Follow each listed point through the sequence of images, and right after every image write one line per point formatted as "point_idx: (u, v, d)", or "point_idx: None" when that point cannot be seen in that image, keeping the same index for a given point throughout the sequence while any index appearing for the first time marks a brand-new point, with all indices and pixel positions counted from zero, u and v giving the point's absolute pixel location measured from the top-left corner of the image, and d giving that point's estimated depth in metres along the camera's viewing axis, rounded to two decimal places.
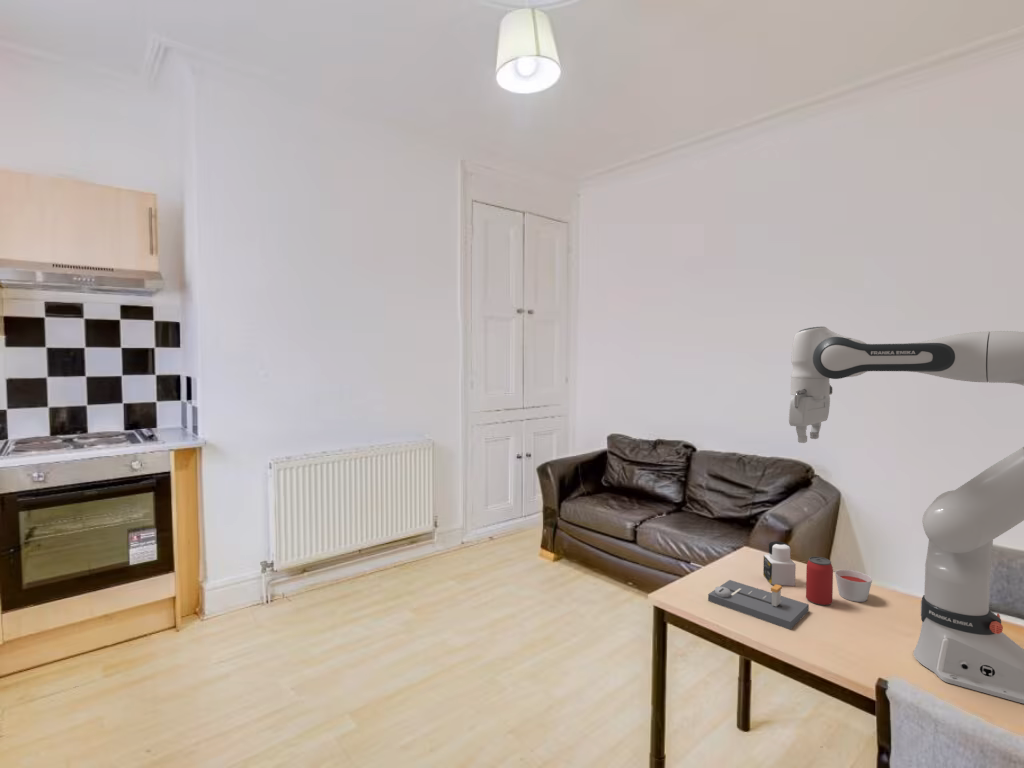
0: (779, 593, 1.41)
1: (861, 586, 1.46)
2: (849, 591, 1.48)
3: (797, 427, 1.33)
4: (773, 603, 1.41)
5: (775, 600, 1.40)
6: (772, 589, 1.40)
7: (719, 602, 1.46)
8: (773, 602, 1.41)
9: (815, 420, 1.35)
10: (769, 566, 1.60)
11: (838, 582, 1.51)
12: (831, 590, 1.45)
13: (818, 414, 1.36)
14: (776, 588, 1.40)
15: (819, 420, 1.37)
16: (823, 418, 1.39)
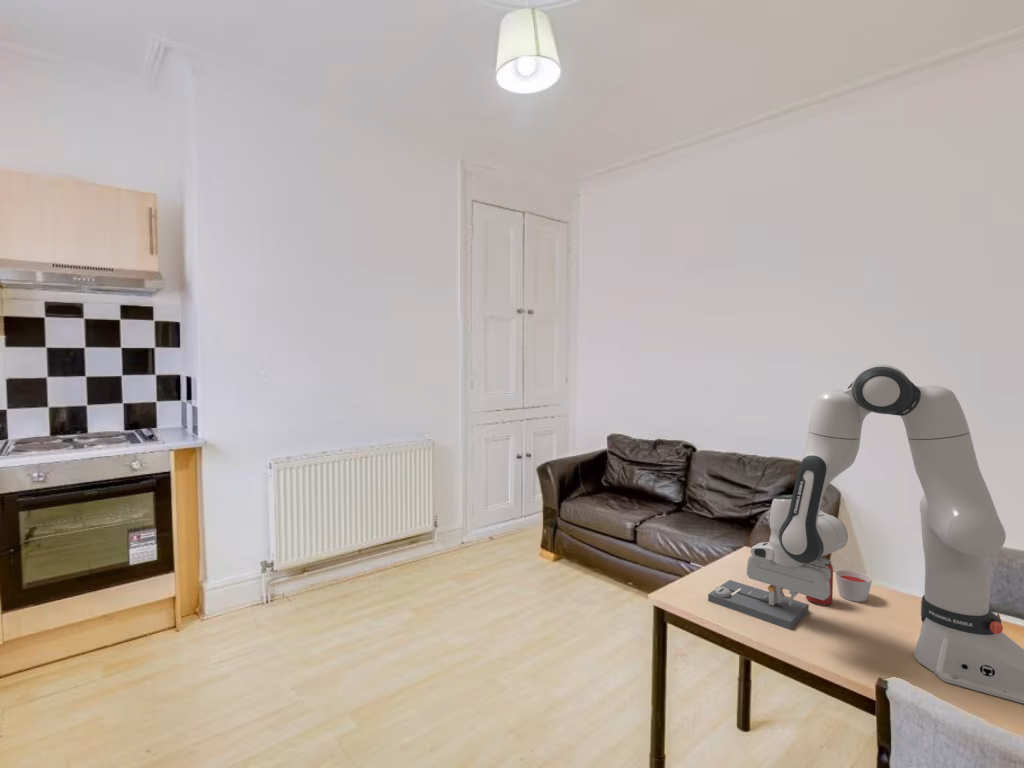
0: (776, 592, 1.42)
1: (861, 586, 1.46)
2: (849, 591, 1.48)
3: (795, 593, 1.37)
4: (770, 602, 1.41)
5: (772, 599, 1.41)
6: (769, 588, 1.41)
7: (719, 602, 1.46)
8: (770, 601, 1.41)
9: None
10: None
11: (838, 582, 1.51)
12: (831, 590, 1.45)
13: None
14: (773, 587, 1.41)
15: None
16: None
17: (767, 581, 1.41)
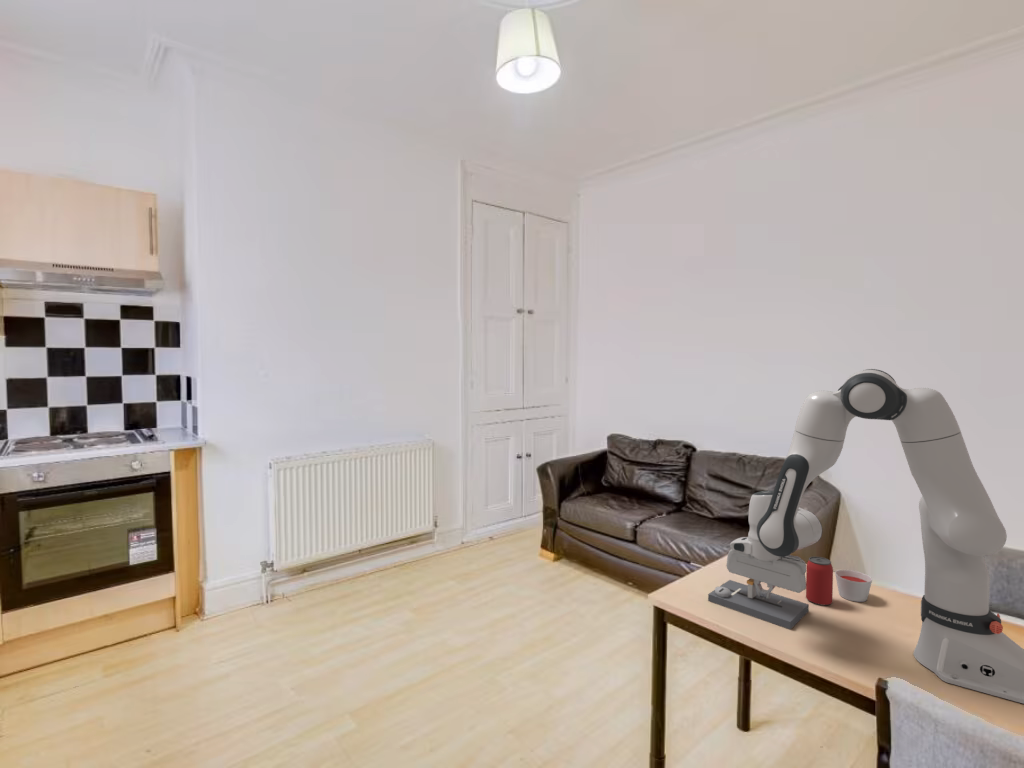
0: (755, 586, 1.46)
1: (861, 586, 1.46)
2: (849, 591, 1.48)
3: (772, 586, 1.41)
4: (749, 595, 1.45)
5: (751, 592, 1.45)
6: (748, 582, 1.45)
7: (719, 602, 1.46)
8: (749, 594, 1.45)
9: None
10: None
11: (838, 582, 1.51)
12: (831, 590, 1.45)
13: None
14: (752, 581, 1.45)
15: None
16: None
17: (746, 575, 1.45)
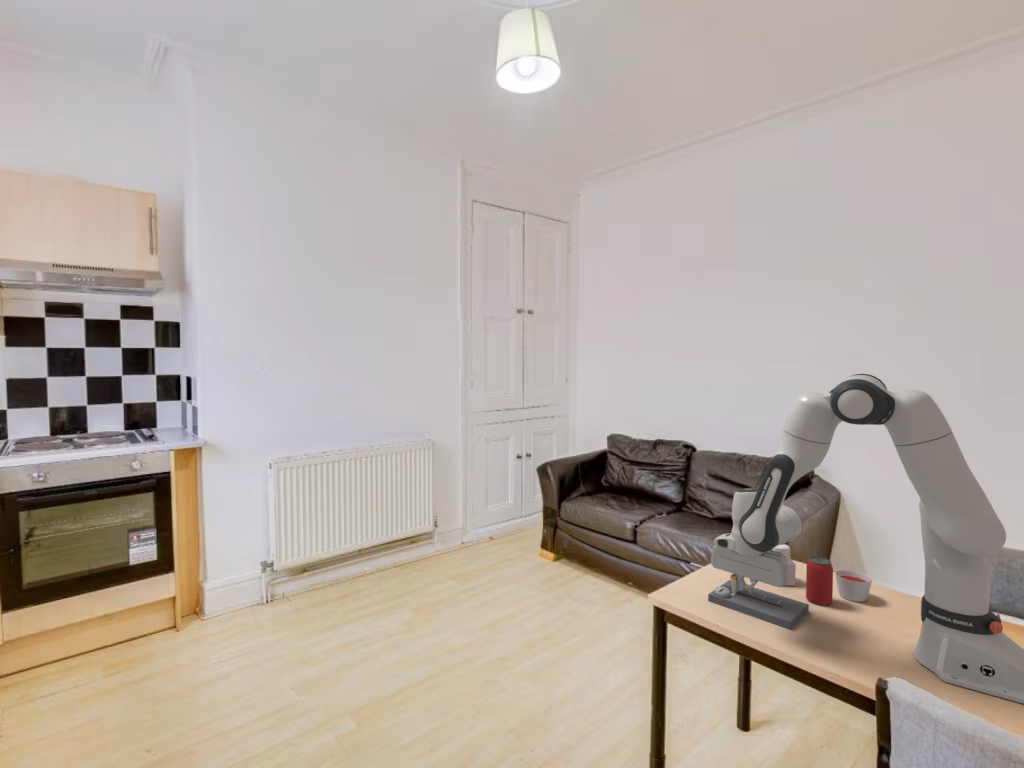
0: None
1: (861, 586, 1.46)
2: (849, 591, 1.48)
3: (755, 581, 1.45)
4: (732, 590, 1.49)
5: (734, 587, 1.48)
6: (731, 577, 1.49)
7: (719, 602, 1.46)
8: (732, 589, 1.49)
9: None
10: None
11: (838, 582, 1.51)
12: (831, 590, 1.45)
13: None
14: (735, 576, 1.49)
15: None
16: None
17: (729, 570, 1.49)
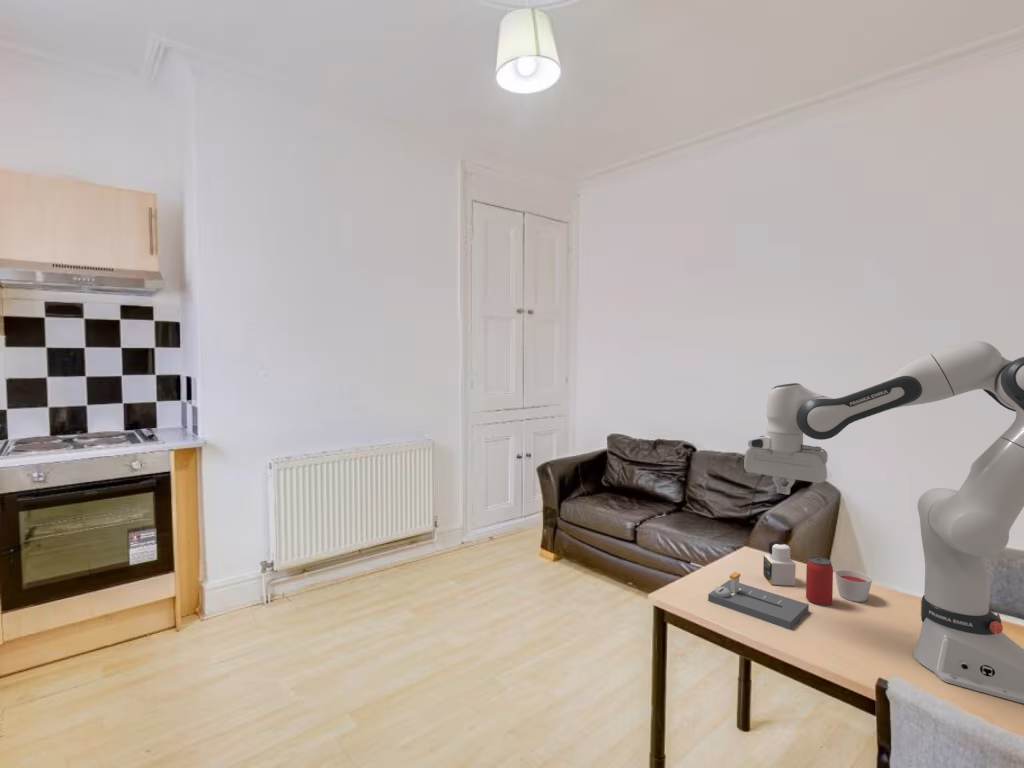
0: (738, 580, 1.50)
1: (861, 586, 1.46)
2: (849, 591, 1.48)
3: (792, 480, 1.38)
4: (732, 590, 1.49)
5: (733, 587, 1.48)
6: (731, 576, 1.49)
7: (719, 602, 1.46)
8: (732, 589, 1.49)
9: None
10: (769, 566, 1.60)
11: (838, 582, 1.51)
12: (831, 590, 1.45)
13: None
14: (734, 575, 1.49)
15: None
16: None
17: (764, 472, 1.42)
